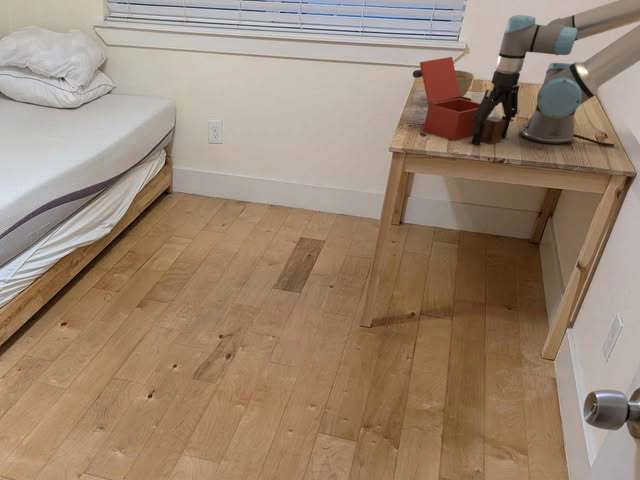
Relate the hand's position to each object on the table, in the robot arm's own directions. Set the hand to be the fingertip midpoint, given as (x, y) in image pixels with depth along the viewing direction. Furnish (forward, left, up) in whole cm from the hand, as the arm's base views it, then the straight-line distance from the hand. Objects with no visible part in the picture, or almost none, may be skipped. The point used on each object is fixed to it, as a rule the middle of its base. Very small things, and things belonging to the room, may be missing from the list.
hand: (488, 140), depth 224 cm
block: (0, 0, 0) cm, 0 cm away
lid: (+22, +2, +15) cm, 27 cm away
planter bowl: (+40, -27, 0) cm, 48 cm away
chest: (+13, +1, 0) cm, 13 cm away
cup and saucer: (+25, -16, 0) cm, 29 cm away
